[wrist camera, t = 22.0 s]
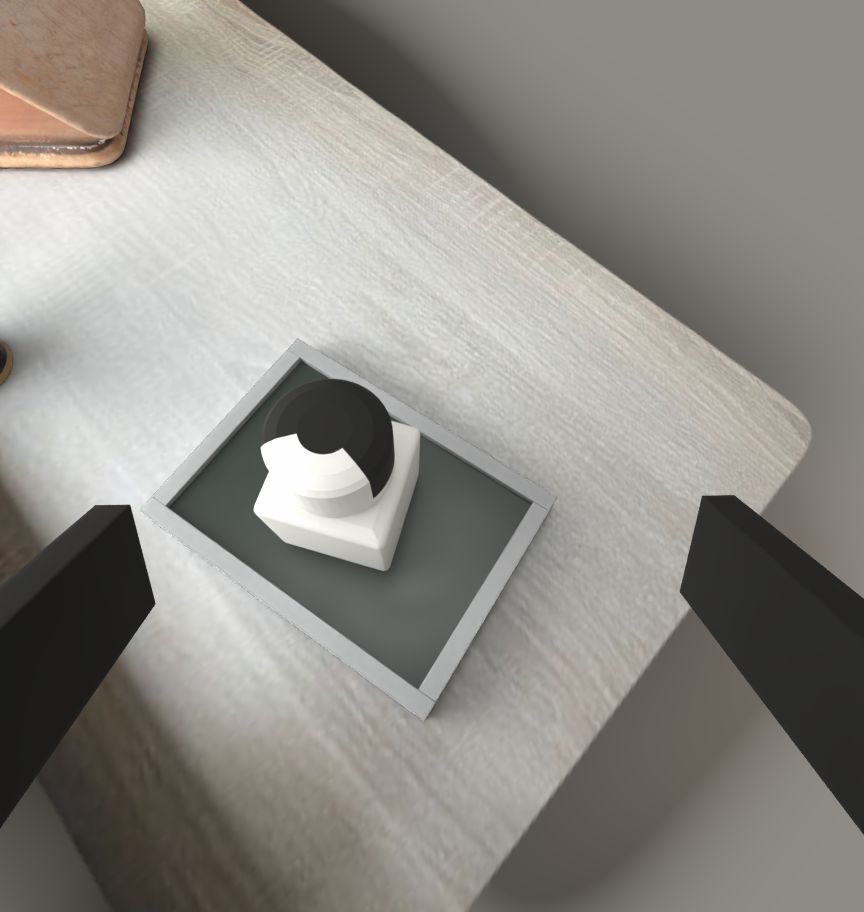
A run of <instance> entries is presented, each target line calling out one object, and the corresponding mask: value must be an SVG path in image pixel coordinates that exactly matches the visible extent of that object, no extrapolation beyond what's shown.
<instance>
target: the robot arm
mask: <svg viewBox="0 0 864 912" xmlns="http://www.w3.org/2000/svg"><path fill="white" fill-rule="evenodd" d="M680 593H681V594H682V596H683V597H684V598H685V600H686V601H687V602H688V603H689V605H690V606H691V607H692V609H693V610H694V611H695V613H696V614H697V615H698V617H699V618H700V619H701V620H702V622H703V623H704V625H705V626H706V627H707V628H708V630H709V631H710V633H711V634H712V635H713V636H714V638H715V639H716V640H717V642H718V643H719V644H720V646H721V647H722V648H723V650H724V651H725V652H726V654H727V655H728V656H729V657H730V659H731V660H732V662H733V663H734V664H735V665H736V667H737V668H738V669H739V671H740V672H741V673H742V675H743V676H744V677H745V679H746V680H747V681H748V683H749V684H750V685H751V686H752V688H753V689H754V690H755V692H756V693H757V694H758V696H759V697H760V698H761V700H762V701H763V702H764V704H765V705H766V706H767V708H768V709H769V710H770V712H771V713H772V714H773V716H774V717H775V718H776V720H777V721H778V722H779V724H780V725H781V726H782V727H783V729H784V730H785V731H786V733H787V734H788V735H789V737H790V738H791V739H792V741H793V742H794V743H795V745H796V746H797V747H798V749H799V750H800V751H801V753H802V754H803V755H804V756H805V758H806V759H807V760H808V762H809V763H810V764H811V766H812V767H813V768H814V769H815V771H816V772H817V774H818V775H819V776H820V778H821V779H822V780H823V781H824V783H825V784H826V786H827V787H828V788H829V789H830V791H831V792H832V793H833V795H834V796H835V797H836V799H837V800H838V801H839V803H840V804H841V805H842V806H843V808H844V809H845V811H846V812H847V813H848V814H849V816H850V817H851V818H852V820H853V821H854V822H855V824H856V825H857V826H858V828H859V829H860V830H861V832H862V833H863V834H864V599H863V598H862V597H861V596H860V595H858V594H857V593H856V592H854V591H853V590H852V589H851V588H850V587H848V586H847V585H846V584H845V583H843V582H842V581H841V580H839V579H838V578H837V577H836V576H834V575H833V574H832V573H831V572H830V571H828V570H827V569H826V568H824V567H823V566H822V565H821V564H820V563H818V562H817V561H816V560H814V559H813V558H812V557H811V556H810V555H808V554H807V553H806V552H804V551H803V550H802V549H801V548H799V547H798V546H797V545H796V544H795V543H793V542H792V541H791V540H789V539H788V538H787V537H786V536H784V535H783V534H782V533H781V532H779V531H778V530H777V529H776V528H774V527H773V526H772V525H771V524H769V523H768V522H767V521H766V520H764V519H763V518H762V517H761V516H759V515H758V514H757V513H756V512H754V511H753V510H752V509H751V508H749V507H748V506H747V505H746V504H744V503H743V502H742V501H741V500H739V499H738V498H737V497H736V496H734V495H721V496H702V499H701V503H700V508H699V512H698V516H697V520H696V525H695V529H694V533H693V537H692V542H691V546H690V550H689V554H688V559H687V563H686V567H685V571H684V576H683V580H682V584H681V588H680ZM154 605H155V600H154V596H153V592H152V588H151V584H150V580H149V576H148V572H147V569H146V565H145V561H144V557H143V553H142V549H141V545H140V541H139V537H138V533H137V530H136V526H135V522H134V518H133V514H132V510H131V506H130V505H95V506H94V507H93V508H92V509H90V510H89V511H88V512H87V513H86V514H85V515H83V516H82V517H81V518H80V519H79V520H78V521H76V522H75V523H74V524H73V525H72V526H70V527H69V528H68V529H67V530H66V531H65V532H63V533H62V534H61V535H60V536H59V537H58V538H56V539H55V540H54V541H53V542H52V543H51V544H49V545H48V546H47V547H46V548H45V549H44V550H42V551H41V552H40V553H39V554H38V555H37V556H35V557H34V558H33V559H32V560H31V561H30V562H28V563H27V564H26V565H25V566H24V567H23V568H21V569H20V570H19V571H18V572H17V573H16V574H14V575H13V576H12V577H11V578H10V579H9V580H7V581H6V582H5V583H4V584H3V585H2V586H0V828H1V826H2V825H3V823H4V822H5V821H6V819H7V818H8V816H9V815H10V814H11V812H12V811H13V809H14V808H15V806H16V805H17V803H18V802H19V801H20V799H21V798H22V796H23V795H24V793H25V792H26V790H27V789H28V788H29V786H30V785H31V783H32V782H33V780H34V779H35V777H36V776H37V775H38V773H39V772H40V770H41V769H42V767H43V766H44V764H45V763H46V761H47V760H48V759H49V757H50V756H51V754H52V753H53V751H54V750H55V748H56V747H57V746H58V744H59V743H60V741H61V740H62V738H63V737H64V735H65V734H66V733H67V731H68V730H69V728H70V727H71V725H72V724H73V722H74V721H75V720H76V718H77V717H78V715H79V714H80V712H81V711H82V709H83V708H84V707H85V705H86V704H87V702H88V701H89V699H90V698H91V696H92V695H93V694H94V692H95V691H96V689H97V688H98V686H99V685H100V683H101V682H102V681H103V679H104V678H105V676H106V675H107V673H108V672H109V670H110V669H111V668H112V666H113V665H114V663H115V662H116V660H117V659H118V657H119V656H120V654H121V653H122V652H123V650H124V649H125V647H126V646H127V644H128V643H129V641H130V640H131V639H132V637H133V636H134V634H135V633H136V631H137V630H138V628H139V627H140V626H141V624H142V623H143V621H144V620H145V618H146V617H147V615H148V614H149V613H150V611H151V610H152V608H153V607H154Z"/></svg>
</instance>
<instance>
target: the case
mask: <svg viewBox="0 0 864 912" xmlns="http://www.w3.org/2000/svg"><path fill="white" fill-rule="evenodd" d="M145 20H146V19H145V12H144V9H143V7H142V5H141V3H140V1H139V0H0V168H14V167H16V168H18V167H19V168H22V167H24V168H25V167H30V168H90V167H100V166H104V165H107V164H110V163H112V162H114V161H115V160H116V159H118V158H119V157H120V155H121V154H122V153H123V151H124V148H125V144H126V140H127V134H128V129H129V125H130V120H131V115H132V111H133V106H134V101H135V97H136V92H137V88H138V83H139V79H140V75H141V70H142V66H143V60H144V57H145V53H146V49H147V44H148V34H147V32H146V30H145V28H144V27H145Z"/></svg>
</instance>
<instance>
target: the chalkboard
mask: <svg viewBox="0 0 864 912" xmlns="http://www.w3.org/2000/svg"><path fill="white" fill-rule="evenodd" d="M319 379H343V380H347V381H351V382H354V383H357V384H359V385H361V386H363V387H365V388H367V389H368V390H369V391H371V392H372V393H374V394H375V395H376V396H377V397H378V398H379V399H380V401H381V402H382V403H383V404H384V406H385V408H386V409H387V411H388V413H389V416H390V419H391V421H394V422H398V423H401V424H405V425H409V426H412V427H416V428H418V430H419V431H420V451H419V475H418V478H417V482H416V485H415V488H414V491H413V495H412V498H411V501H410V504H409V508H408V511H407V514H406V517H405V520H404V524H403V527H402V530H401V533H400V537H399V540H398V543H397V546H396V550H395V553H394V556H393V559H392V562H391V566H390V568H389V569H388V570H387V571H381V570H378V569H374V568H371V567H367V566H364V565H361V564H357V563H354V562H350V561H347V560H343V559H340V558H337V557H333V556H330V555H326V554H323V553H319V552H316V551H313V550H309V549H306V548H302V547H299V546H295V545H292V544H288V543H286V542H284V541H283V540H282V539H281V538H280V537H279V536H278V535H277V534H276V533H275V532H274V531H273V530H272V529H271V528H269V527H268V526H267V525H266V524H265V523H264V522H263V521H262V520H261V519H260V518H259V517H258V516H257V515H256V514H255V512H254V506H255V503H256V501H257V499H258V496H259V494H260V492H261V489H262V487H263V485H264V482H265V480H266V478H267V475H268V473H269V470H268V468H267V466H266V465H265V462H264V459H263V457H262V452H261V432H262V428H263V424H264V422H265V419H266V417H267V415H268V413H269V412H270V410H271V409H272V407H273V406H274V405H275V404H276V402H277V401H278V400H279V399H280V398H281V397H282V396H284V395H285V394H286V393H288V392H289V391H290V390H292V389H294V388H296V387H297V386H299V385H302V384H304V383H307V382H310V381H314V380H319ZM556 499H557V496H555V495H553V494H552V493H550V492H548V491H547V490H545V489H543V488H542V487H540V486H539V485H537V484H535V483H534V482H532V481H530V480H529V479H527V478H525V477H524V476H522V475H521V474H519V473H517V472H516V471H514V470H512V469H511V468H509V467H507V466H506V465H504V464H503V463H501V462H499V461H498V460H496V459H494V458H493V457H491V456H489V455H488V454H486V453H485V452H483V451H481V450H480V449H478V448H476V447H475V446H473V445H471V444H470V443H468V442H467V441H465V440H463V439H462V438H460V437H458V436H457V435H455V434H453V433H452V432H450V431H449V430H447V429H445V428H444V427H442V426H440V425H439V424H437V423H435V422H434V421H432V420H431V419H429V418H427V417H426V416H424V415H422V414H421V413H419V412H417V411H416V410H414V409H413V408H411V407H409V406H408V405H406V404H404V403H403V402H401V401H399V400H398V399H396V398H395V397H393V396H391V395H390V394H388V393H386V392H385V391H383V390H381V389H380V388H378V387H377V386H375V385H373V384H372V383H370V382H368V381H367V380H365V379H363V378H362V377H360V376H359V375H357V374H355V373H354V372H352V371H350V370H349V369H347V368H345V367H344V366H342V365H341V364H339V363H337V362H336V361H334V360H332V359H331V358H329V357H327V356H326V355H324V354H323V353H321V352H319V351H318V350H316V349H314V348H313V347H311V346H309V345H308V344H306V343H305V342H303V341H301V340H300V339H297V340H296V341H295V342H294V343H293V344H292V345H291V346H290V347H289V348H288V350H286V351H285V353H284V354H283V355H282V356H281V357H280V358H279V359H278V360H277V361H276V362H275V363H274V364H273V366H272V367H271V368H270V369H269V370H268V371H267V372H266V373H265V374H264V375H263V376H262V377H261V379H260V380H259V381H258V382H257V383H256V384H255V385H254V386H253V387H252V388H251V389H250V390H249V392H248V393H247V394H246V395H245V396H244V397H243V398H242V399H241V400H240V401H239V402H238V403H237V405H236V406H235V407H234V408H233V409H232V410H231V411H230V412H229V413H228V414H227V415H226V416H225V418H224V419H223V420H222V421H221V422H220V423H219V424H218V425H217V426H216V427H215V428H214V429H213V431H212V432H211V433H210V434H209V435H208V436H207V437H206V438H205V439H204V440H203V441H202V442H201V444H200V445H199V446H198V447H197V448H196V449H195V450H194V451H193V452H192V453H191V454H190V455H189V457H188V458H187V459H186V460H185V461H184V462H183V463H182V464H181V465H180V466H179V467H178V468H177V470H176V471H175V472H174V473H173V474H172V475H171V476H170V477H169V478H168V479H167V480H166V481H165V483H164V484H163V485H162V486H161V487H160V488H159V489H158V490H157V491H156V492H155V493H154V494H153V497H151V498H150V499H149V500H148V501H147V502H146V503H145V504H144V505H143V506H142V507H141V509H140V510H139V512H141V513H142V514H143V515H145V516H146V517H147V518H149V519H150V520H152V521H153V522H154V523H156V524H157V525H158V526H160V527H161V528H162V529H164V530H165V531H166V532H168V533H169V534H170V535H172V536H173V537H175V538H176V539H177V540H179V541H180V542H181V543H183V544H184V545H185V546H187V547H188V548H189V549H191V550H192V551H193V552H195V553H196V554H198V555H199V556H200V557H202V558H203V559H204V560H206V561H207V562H208V563H210V564H211V565H212V566H214V567H215V568H216V569H218V570H219V571H221V572H222V573H223V574H225V575H226V576H227V577H229V578H230V579H231V580H233V581H234V582H235V583H237V584H238V585H239V586H241V587H242V588H244V589H245V590H246V591H248V592H249V593H250V594H252V595H253V596H254V597H256V598H257V599H258V600H260V601H261V602H262V603H264V604H265V605H267V606H268V607H269V608H271V609H272V610H273V611H275V612H276V613H277V614H279V615H280V616H281V617H283V618H284V619H286V620H287V621H288V622H290V623H291V624H292V625H294V626H295V627H296V628H298V629H299V630H300V631H302V632H303V633H304V634H306V635H307V636H309V637H310V638H311V639H313V640H314V641H315V642H317V643H318V644H319V645H321V646H322V647H323V648H325V649H326V650H327V651H329V652H330V653H332V654H333V655H334V656H336V657H337V658H338V659H340V660H341V661H342V662H344V663H345V664H346V665H348V666H349V667H350V668H352V669H353V670H355V671H356V672H357V673H359V674H360V675H361V676H363V677H364V678H365V679H367V680H368V681H369V682H371V683H372V684H373V685H375V686H376V687H378V688H379V689H380V690H382V691H383V692H384V693H386V694H387V695H388V696H390V697H391V698H392V699H394V700H395V701H396V702H398V703H399V704H401V705H402V706H403V707H405V708H406V709H407V710H409V711H410V712H411V713H413V714H414V715H415V716H417V717H418V718H419V719H421V720H422V721H425V720H426V718H427V716H428V715H429V713H430V711H431V710H432V708H433V706H434V705H435V702H436V701H437V700H438V698H439V696H440V695H441V693H442V691H443V690H444V688H445V686H446V684H447V683H448V681H449V679H450V678H451V676H452V674H453V673H454V671H455V669H456V668H457V666H458V664H459V663H460V661H461V659H462V657H463V656H464V654H465V652H466V651H467V649H468V647H469V646H470V644H471V642H472V641H473V639H474V637H475V636H476V634H477V632H478V630H479V629H480V627H481V625H482V624H483V622H484V620H485V619H486V617H487V615H488V614H489V612H490V610H491V609H492V607H493V605H494V603H495V602H496V600H497V598H498V597H499V595H500V593H501V592H502V590H503V588H504V587H505V585H506V583H507V582H508V580H509V578H510V577H511V575H512V573H513V571H514V570H515V568H516V566H517V565H518V563H519V561H520V560H521V558H522V556H523V555H524V553H525V551H526V550H527V548H528V546H529V544H530V543H531V541H532V539H533V538H534V536H535V534H536V533H537V531H538V529H539V528H540V526H541V524H542V523H543V521H544V519H545V517H546V516H547V514H548V512H549V511H550V509H551V507H552V506H553V504H554V502H555V501H556Z"/></svg>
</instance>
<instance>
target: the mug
mask: <svg viewBox="0 0 864 912" xmlns="http://www.w3.org/2000/svg"><path fill="white" fill-rule="evenodd" d="M12 362H13V357H12V353H11V350H10V349H9V348H8V346H7V345H6V344H4V343H3V342H1V341H0V385H1V384H2V383H3V382H4V380H5V379H6V378H7V376H8V375H9V373H10V370H11V368H12Z"/></svg>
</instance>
